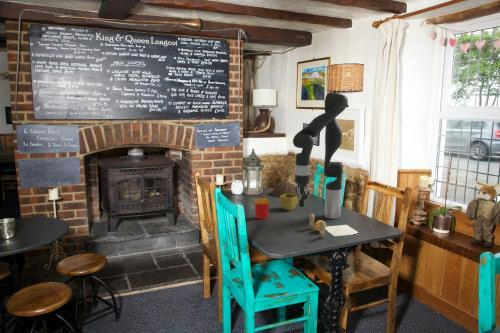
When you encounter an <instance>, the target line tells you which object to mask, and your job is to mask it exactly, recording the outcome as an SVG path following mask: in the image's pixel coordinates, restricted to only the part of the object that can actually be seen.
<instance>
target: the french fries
mask: <svg viewBox="0 0 500 333" xmlns="http://www.w3.org/2000/svg"><path fill="white" fill-rule="evenodd" d="M269 202H270V201H269V198H267V197H264V198H254V206H255V217H256V219H258V220H266V219H268V216H269V207H270V203H269Z"/></svg>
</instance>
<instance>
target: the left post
mask: <svg viewBox="0 0 500 333" xmlns="http://www.w3.org/2000/svg"><path fill="white" fill-rule="evenodd" d="M308 216H309V217H308V220H309V222H308V229H309V230H315V213H310V214H309V215H308Z"/></svg>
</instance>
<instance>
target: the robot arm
mask: <svg viewBox="0 0 500 333" xmlns="http://www.w3.org/2000/svg"><path fill="white" fill-rule="evenodd" d="M348 102H349V99H348V96H347V95H346V94H345V95H344V94H343V93H342V94H341V93H338V92H331V91H330V92H328V93H327V94H326V96H325V99H324V113H320V114H319V115H317V116H316V117H314V118H313V119H312V120H311V121H310V122H309V123H308V124H307V126H306V127H304V128H303V129H301V130H300V131H298V132H297V133H296V134H295V135H294V137H293V139H292V144H293V146H294V147H295V148H298V149H301V152H298V153H296V155H295V167H294V183H295V184H297V185H296V186H295V189H296V193H297V197H298V206H299V207H300V208H304V207H305V200H307V198H308V196H309V192H310V191H308V188H307V187H308V186H307V185H308V184H310V178H311V176H310V175H311V170H310V168H311V167H310V164H311V163H310V161H311V160H310V158H311V155H312V151H313V147H314V139H313V138H316V137H317V136H318V135H319V134H320V133H321V132H322V130H324V128H325V131H324V132H325V133H324V134H325V135H324V152H325V153H324V163H323V164H324V165H323V175H324V176H325V177H326V178H336V179H334V180H333V181H330V182H329V181H328V182H327V183H326V184H325V195H324V196H325V200H324V218H327V219H331V220H332V219H333V220H334V219H340V218H341V212H342V210H341V209H342V192H343V191H342V190H343V189H342V188H343V186H342V184H343V182H342V181H343V172H344V164H343V162H341V161H331V160H332V158H333V156H334V155H335V153H336V152H337V151H338V149H339V148H340V147H341V145H342V142H343V141H342V140H343V130H342V128H341V126H340V124H339V122H338V120H337V117H338V116H339V115H340V114H342V113H343V112H344V111H345V110H346V109H347V106H348Z"/></svg>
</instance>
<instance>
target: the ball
mask: <svg viewBox="0 0 500 333" xmlns="http://www.w3.org/2000/svg"><path fill="white" fill-rule="evenodd" d="M321 221H322V220H320V219H319V220H317V221H316V222H314V230H316V232H319V233H320V222H321ZM326 227H327V223H325V229H326Z"/></svg>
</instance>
